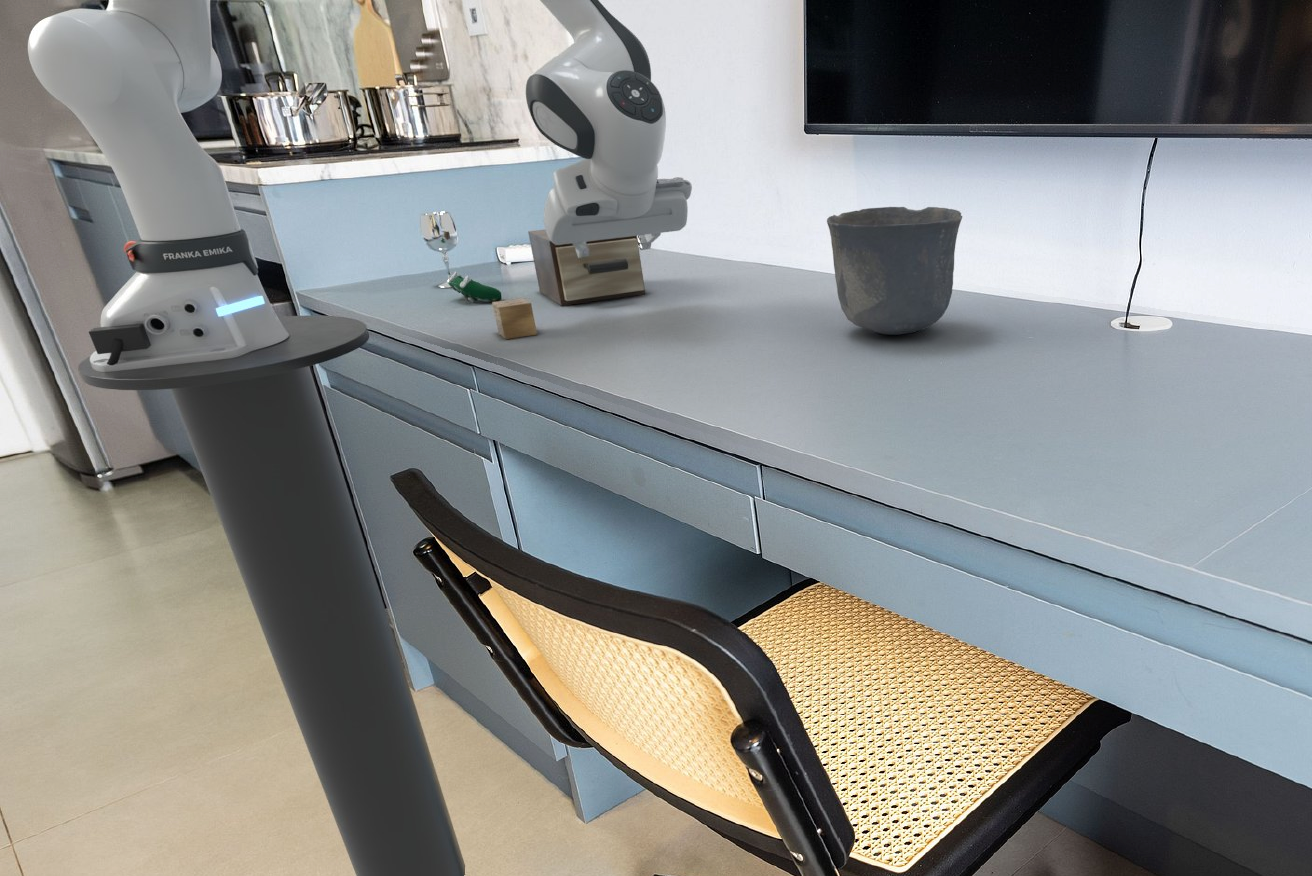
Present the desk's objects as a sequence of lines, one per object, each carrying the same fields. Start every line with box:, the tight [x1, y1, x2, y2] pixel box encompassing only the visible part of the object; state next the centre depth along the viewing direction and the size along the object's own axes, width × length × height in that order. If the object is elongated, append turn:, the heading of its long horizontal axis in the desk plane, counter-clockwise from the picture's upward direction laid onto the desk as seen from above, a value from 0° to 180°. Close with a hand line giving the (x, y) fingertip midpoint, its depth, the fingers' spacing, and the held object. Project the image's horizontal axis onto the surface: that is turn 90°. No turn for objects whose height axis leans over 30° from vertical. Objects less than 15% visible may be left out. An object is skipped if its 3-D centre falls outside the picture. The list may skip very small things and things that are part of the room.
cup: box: [826, 206, 963, 336], centre depth 129 cm, size 18×18×15 cm
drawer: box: [556, 238, 645, 301], centre depth 160 cm, size 17×13×8 cm
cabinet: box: [527, 229, 646, 307], centre depth 163 cm, size 14×14×10 cm
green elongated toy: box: [448, 271, 502, 303], centre depth 163 cm, size 9×4×6 cm
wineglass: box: [419, 211, 459, 289], centre depth 174 cm, size 6×6×12 cm
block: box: [491, 297, 538, 340], centre depth 140 cm, size 4×4×4 cm
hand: (613, 249), depth 149 cm, fingers open, 8 cm apart
